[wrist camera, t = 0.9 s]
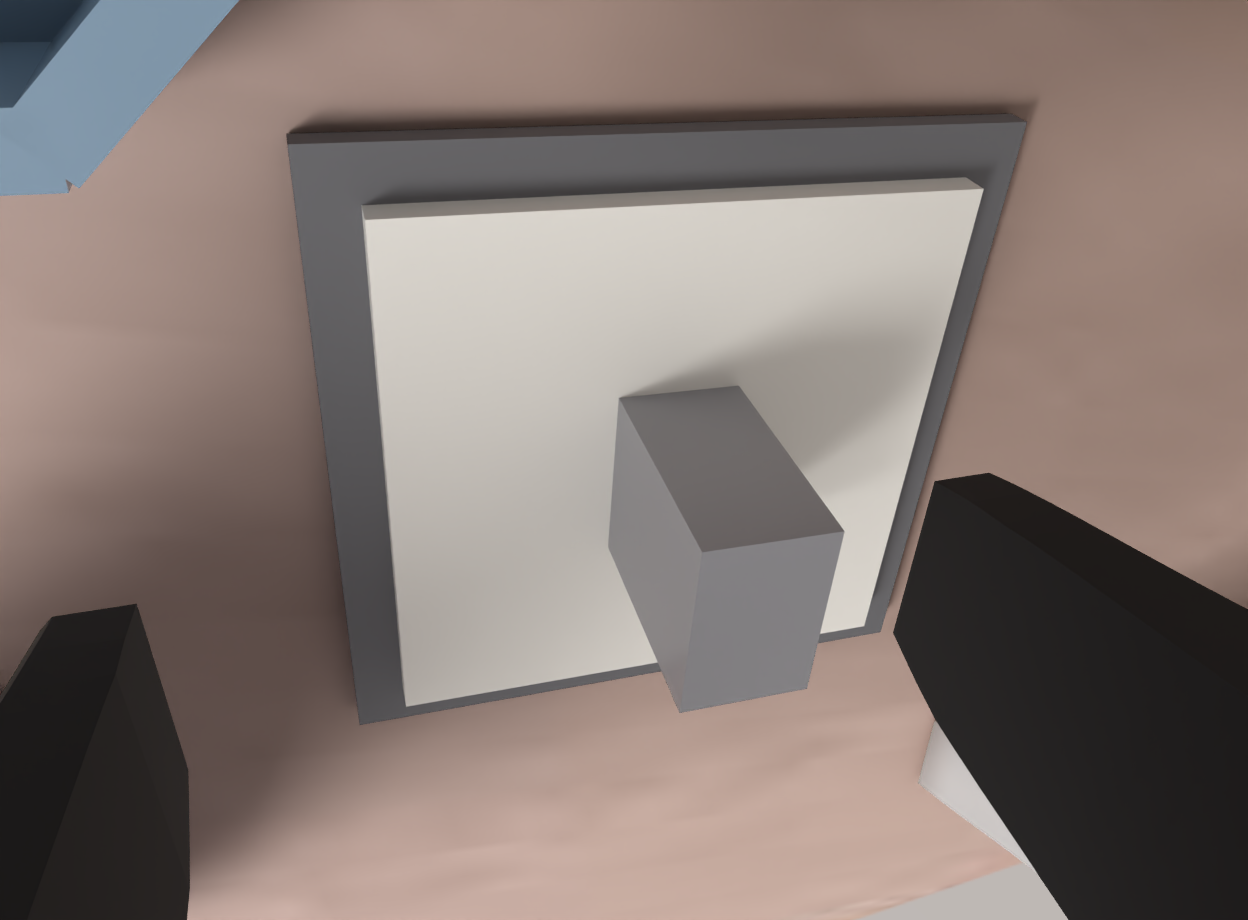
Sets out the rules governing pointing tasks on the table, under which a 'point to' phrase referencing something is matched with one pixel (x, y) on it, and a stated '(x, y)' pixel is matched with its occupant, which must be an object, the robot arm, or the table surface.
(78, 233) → the table surface
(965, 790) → the flask
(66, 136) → the bowl
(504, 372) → the lid
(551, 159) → the mat
